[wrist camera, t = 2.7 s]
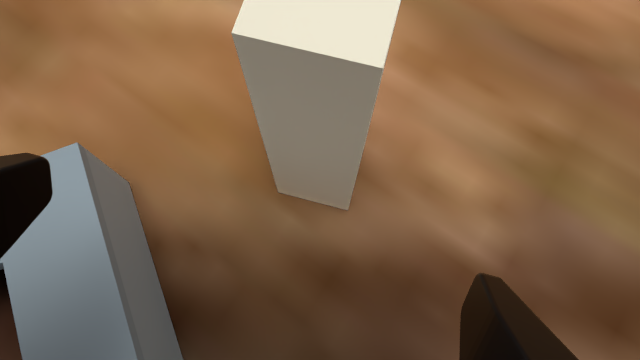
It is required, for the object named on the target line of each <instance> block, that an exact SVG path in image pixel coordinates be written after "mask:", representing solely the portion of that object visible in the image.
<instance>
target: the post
mask: <svg viewBox="0 0 640 360" xmlns="http://www.w3.org/2000/svg"><path fill="white" fill-rule="evenodd" d="M400 3H401V0H244V2H243V5H242V7H241V10H240V12H239V15H238V18H237V20H236V23H235V25H234V28H233V30H232V36H233V40H234V43H235V47H236V50H237V53H238V57H239V60H240V64H241V67H242V71H243V74H244V77H245V81H246V84H247V88H248V91H249V94H250V98H251V101H252V105H253V108H254V112H255V115H256V118H257V122H258V125H259V129H260V132H261V136H262V139H263V142H264V146H265V149H266V153H267V156H268V160H269V163H270V166H271V170H272V173H273V177H274V180H275V183H276V187H277V190H278V192H279V193H282V194H286V195H290V196H294V197H298V198H302V199H306V200H309V201H313V202H317V203H321V204H325V205H329V206H332V207H336V208H340V209H344V210H348V208H349V204H350V200H351V197H352V193H353V189H354V185H355V181H356V177H357V173H358V169H359V165H360V162H361V158H362V154H363V150H364V146H365V142H366V138H367V134H368V130H369V126H370V122H371V118H372V114H373V110H374V106H375V102H376V98H377V94H378V90H379V86H380V82H381V78H382V74H383V70H384V66H385V62H386V58H387V54H388V50H389V46H390V43H391V39H392V35H393V31H394V27H395V23H396V19H397V15H398V11H399V7H400Z"/></svg>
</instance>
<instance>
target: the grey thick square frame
mask: <svg viewBox="0 0 640 360" xmlns="http://www.w3.org/2000/svg"><path fill="white" fill-rule="evenodd" d="M41 156H42V157H45V158H46V159H47V160H48V161H49V163H50V170H51V179H52V189H53V194H52V198H51V201H50V202H49V204H48V205H47V206H46V207H45V209H44V210H43V211H42V212H41V213H40V214H39V216H38V217H37V218H36V219H35V220H34V221H33V222H32V224H31V225H30V226H29V227H28V228H27V229H26V231H25V232H24V233H23V234H22V235H21V236H20V238H19V239H18V240H17V241H16V242H15V243H14V244H13V246H12V247H11V248H10V249H9V250H8V251H7V252H6V253H5V255H4V256H3V257H2V258H1V259H0V270H1V269H4V271H5V276H6V281H7V286H8V291H9V296H10V301H11V306H12V310H13V315H14V320H15V325H16V330H17V335H18V340H19V345H20V350H21V355H22V359H23V360H183V358H182V354H181V351H180V348H179V345H178V341H177V338H176V335H175V331H174V328H173V325H172V322H171V318H170V315H169V312H168V309H167V305H166V302H165V299H164V296H163V292H162V289H161V286H160V283H159V279H158V276H157V273H156V270H155V266H154V263H153V260H152V256H151V253H150V250H149V247H148V243H147V240H146V237H145V234H144V230H143V227H142V224H141V221H140V217H139V214H138V211H137V208H136V204H135V201H134V198H133V195H132V191H131V188H130V185H129V182H127V181H126V180H125V179H124V178H122V177H121V176H120V175H118V174H117V173H116V172H115V171H113V170H112V169H111V168H109V167H108V166H107V165H106V164H104V163H103V162H102V161H100V160H99V159H98V158H97V157H95V156H94V155H93V154H91V153H90V152H89V151H88V150H86V149H85V148H84V147H82V146H81V145H80V144H79V143H74V144H72V145H69V146H66V147H63V148H61V149H58V150H55V151H52V152H50V153H47V154H44V155H41Z"/></svg>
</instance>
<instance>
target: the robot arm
mask: <svg viewBox="0 0 640 360" xmlns="http://www.w3.org/2000/svg"><path fill="white" fill-rule="evenodd" d="M52 194H53V189H52V179H51V170H50V163H49V161H48V160H47V159H46V158H45V157H42V156H38V155H34V154H30V153H21V154H14V155H6V156H0V259H1V258H2V257H3V256H4V255H5V253H6V252H7V251H8V250H9V249H10V248H11V247H12V246H13V244H14V243H15V242H16V241H17V240H18V239H19V238H20V236H21V235H22V234H23V233H24V232H25V231H26V229H27V228H28V227H29V226H30V225H31V224H32V222H33V221H34V220H35V219H36V218H37V217H38V216H39V214H40V213H41V212H42V211H43V210H44V209H45V207H46V206H47V205H48V204H49V202H50V201H51V198H52ZM460 360H578V359H577V358H576V357H575V355H574V354H573V353H572V352H571V351H570V350H569V349H568V348H567V347H566V346H565V345H564V344H563V343H562V342H561V341H560V340H559V339H558V338H557V337H556V336H555V335H554V334H553V332H552V331H551V330H550V329H549V328H548V327H547V326H546V325H545V324H544V323H543V322H542V321H541V320H540V319H539V318H538V317H537V316H536V315H535V314H534V313H533V312H532V311H531V309H530V308H529V307H528V306H527V305H526V304H525V303H524V302H523V301H522V300H521V299H520V298H519V297H518V296H517V295H516V294H515V293H514V292H513V291H512V290H511V289H510V287H509V286H508V285H507V284H506V283H505V282H504V281H503V280H502V279H501V278H499V277H496V276H492V275H488V274H484V273H479V274H477V275H476V277H475V278H474V281H473V283H472V285H471V287H470V290H469V292H468V294H467V296H466V299H465V301H464V303H463V306H462V310H461V322H460Z"/></svg>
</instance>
